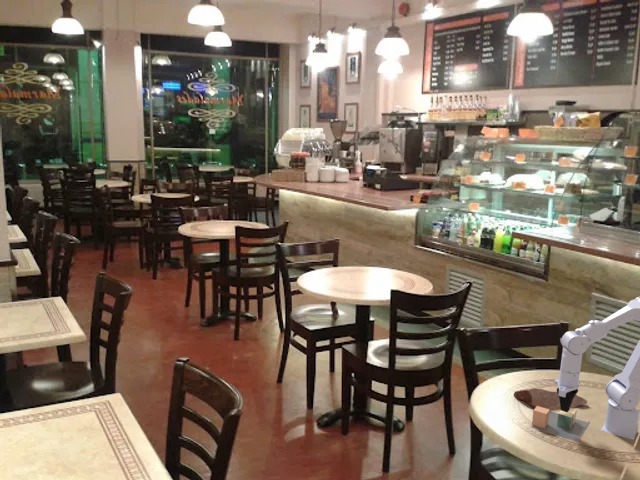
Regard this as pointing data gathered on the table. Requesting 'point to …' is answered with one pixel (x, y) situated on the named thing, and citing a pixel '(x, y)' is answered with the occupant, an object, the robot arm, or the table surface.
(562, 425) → the beech block
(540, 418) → the terracotta block
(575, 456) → the table surface
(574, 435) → the slate board
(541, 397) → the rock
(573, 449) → the table surface
